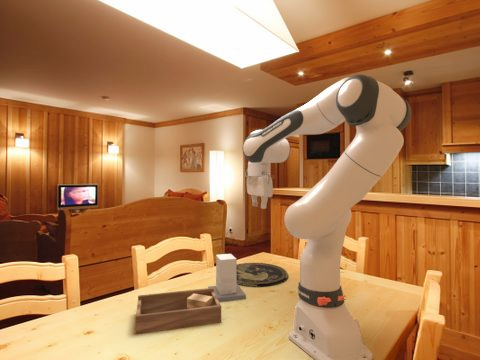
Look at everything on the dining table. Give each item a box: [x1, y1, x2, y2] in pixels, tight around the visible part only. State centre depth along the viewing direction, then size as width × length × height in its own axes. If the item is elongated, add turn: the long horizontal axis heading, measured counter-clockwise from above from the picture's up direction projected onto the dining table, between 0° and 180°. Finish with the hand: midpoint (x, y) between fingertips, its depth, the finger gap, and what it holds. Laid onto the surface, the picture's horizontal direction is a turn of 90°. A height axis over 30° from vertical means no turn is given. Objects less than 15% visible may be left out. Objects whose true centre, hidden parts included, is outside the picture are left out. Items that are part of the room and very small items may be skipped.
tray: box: [135, 287, 222, 335], centre depth 93 cm, size 13×25×6 cm, turn 106°
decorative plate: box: [237, 262, 289, 288], centre depth 134 cm, size 30×2×30 cm
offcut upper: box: [187, 294, 212, 308], centre depth 95 cm, size 7×4×3 cm, turn 69°
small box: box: [215, 253, 238, 295], centre depth 112 cm, size 8×6×13 cm
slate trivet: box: [207, 284, 247, 303], centre depth 111 cm, size 12×12×2 cm
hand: (259, 207), depth 114 cm, fingers open, 8 cm apart
